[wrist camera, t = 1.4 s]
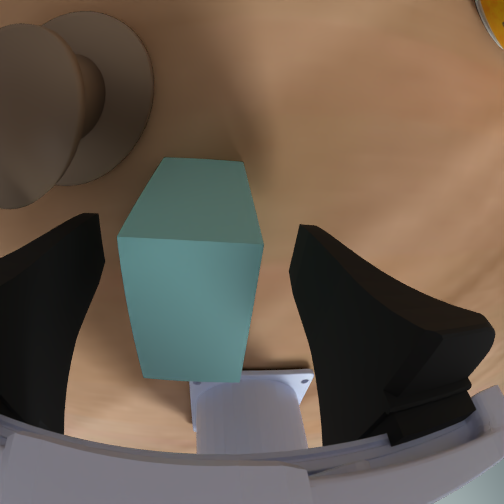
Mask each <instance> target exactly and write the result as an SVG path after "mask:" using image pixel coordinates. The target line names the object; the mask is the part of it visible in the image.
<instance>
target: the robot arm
mask: <svg viewBox="0 0 504 504" xmlns="http://www.w3.org/2000/svg"><path fill="white" fill-rule="evenodd" d="M104 264H105V257H104V251H103V245H102V238H101V231H100V223H99V215H98V214H97V213H83V214H80V215H78V216H76V217H73V218H72V219H70V220H68V221H66V222H64V223H63V224H61V225H59V226H57V227H56V228H54V229H52V230H51V231H49V232H47V233H46V234H44V235H42V236H41V237H39V238H37V239H35V240H34V241H32V242H30V243H28V244H27V245H25V246H23V247H22V248H20V249H18V250H16V251H14V252H12V253H10V254H8V255H6V256H4V257H2V258H0V504H433V503H435V502H437V501H439V500H440V499H442V498H444V497H446V496H448V495H449V494H451V493H453V492H454V491H456V490H458V489H460V488H461V487H463V486H464V485H466V484H468V483H469V482H471V481H472V480H474V479H475V478H477V477H478V476H480V475H481V474H483V473H484V472H485V471H487V470H488V469H490V468H491V467H493V466H494V465H495V464H497V463H498V462H499V461H501V460H502V459H503V458H504V396H503V394H502V392H501V390H500V388H499V387H498V385H494V386H492V387H490V388H487V389H485V390H483V391H480V392H479V393H477V394H475V395H474V396H472V397H470V396H469V394H468V392H467V390H469V389H470V388H471V385H472V384H471V382H470V381H469V379H468V376H469V375H470V374H471V373H472V372H473V371H474V369H475V368H476V367H477V366H478V365H479V364H480V362H481V361H482V360H483V359H484V357H485V356H486V355H487V353H488V352H489V350H490V349H491V347H492V345H493V342H494V338H495V330H494V328H493V327H492V326H491V324H490V323H489V322H488V320H487V319H486V318H485V317H484V316H483V315H482V314H480V313H476V312H473V311H470V310H467V309H463V308H460V307H457V306H454V305H451V304H448V303H446V302H443V301H440V300H438V299H435V298H433V297H431V296H428V295H426V294H424V293H422V292H419V291H417V290H415V289H413V288H411V287H409V286H407V285H405V284H403V283H401V282H400V281H398V280H396V279H394V278H393V277H391V276H389V275H387V274H386V273H384V272H382V271H381V270H379V269H378V268H376V267H375V266H373V265H372V264H370V263H369V262H367V261H366V260H364V259H363V258H361V257H360V256H358V255H357V254H356V253H354V252H353V251H352V250H350V249H349V248H347V247H346V246H345V245H343V244H342V243H341V242H339V241H338V240H337V239H335V238H334V237H333V236H331V235H330V234H328V233H327V232H326V231H324V230H323V229H321V228H319V227H317V226H314V225H302V224H300V225H299V230H298V234H297V239H296V243H295V247H294V252H293V256H292V260H291V264H290V269H289V274H290V281H291V286H292V292H293V296H294V299H295V302H296V305H297V308H298V312H299V315H300V318H301V321H302V324H303V327H304V330H305V333H306V336H307V339H308V343H309V346H310V350H311V354H312V360H313V365H314V371H315V377H316V383H317V390H318V397H319V406H320V415H321V426H322V443H323V446H322V447H316V448H309V449H308V444H307V439H306V435H305V430H304V425H303V421H302V416H301V412H300V407H299V404H300V402H301V400H302V398H303V396H304V395H305V393H306V391H307V389H308V387H309V385H310V383H311V381H312V379H313V377H314V373H313V370H311V369H292V370H258V371H242V372H241V378H240V383H229V382H194V381H189V384H190V398H191V411H192V423H193V430H194V431H195V432H196V439H197V454H188V453H172V452H160V451H150V450H141V449H134V448H127V447H120V446H114V445H108V444H103V443H98V442H93V441H88V440H83V439H79V438H75V437H71V436H67V435H64V411H65V400H66V390H67V383H68V376H69V370H70V365H71V360H72V355H73V351H74V347H75V343H76V339H77V336H78V333H79V330H80V328H81V325H82V323H83V320H84V318H85V315H86V313H87V310H88V308H89V306H90V303H91V301H92V298H93V296H94V294H95V291H96V289H97V287H98V284H99V281H100V278H101V275H102V271H103V267H104Z"/></svg>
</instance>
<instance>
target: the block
mask: <svg viewBox="0 0 504 504" xmlns="http://www.w3.org/2000/svg"><path fill="white" fill-rule="evenodd" d="M117 242H118V250H119V258H120V265H121V272H122V278H123V284H124V290H125V296H126V302H127V307H128V312H129V317H130V322H131V327H132V332H133V337H134V341H135V345H136V350H137V354H138V358H139V362H140V366H141V370H142V374H143V377H144V378H151V379H162V380H176V381H194V382H229V383H240V378H241V372H242V367H243V361H244V356H245V350H246V345H247V339H248V333H249V328H250V322H251V316H252V311H253V305H254V299H255V293H256V288H257V282H258V276H259V270H260V264H261V258H262V253H263V247H264V243H263V239H262V235H261V231H260V227H259V223H258V219H257V215H256V211H255V207H254V203H253V199H252V195H251V191H250V187H249V183H248V179H247V175H246V171H245V167H244V163H243V162H239V161H226V160H212V159H194V158H171V157H164V158H163V160H162V161H161V163H160V164H159V166H158V168H157V169H156V171H155V172H154V174H153V175H152V177H151V179H150V180H149V182H148V183H147V185H146V187H145V188H144V190H143V192H142V193H141V195H140V197H139V198H138V200H137V202H136V204H135V205H134V207H133V209H132V210H131V212H130V214H129V216H128V217H127V219H126V221H125V223H124V225H123V226H122V228H121V230H120V232H119V234H118V236H117Z"/></svg>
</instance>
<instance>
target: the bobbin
mask: <svg viewBox="0 0 504 504" xmlns="http://www.w3.org/2000/svg"><path fill="white" fill-rule="evenodd" d="M153 96H154V76H153V68H152V65H151V61H150V57H149V55H148V53H147V50H146V48H145V46H144V44H143V43H142V41H141V40H140V38H139V37H138V36H137V35H136V33H135V32H134V31H133V30H132V29H131V28H129V27H128V26H127V25H126V24H124V23H123V22H121V21H119V20H117V19H115V18H113V17H111V16H108V15H105V14H103V13H98V12H92V11H80V12H73V13H68V14H65V15H62V16H59V17H57V18H54V19H52V20H50V21H48V22H47V23H45V24H44V25H42V26H40V25H32V24H21V23H20V24H12V25H8V26H5V27H2V28H0V208H2V209H16V208H21V207H24V206H27V205H29V204H31V203H33V202H35V201H36V200H38V199H39V198H41V197H42V196H43V195H44V194H45V193H46V192H48V191H49V190H50V189H51V188H52V187H53V186H54V185H62V186H71V185H79V184H83V183H87V182H90V181H92V180H95V179H97V178H99V177H101V176H103V175H104V174H106V173H107V172H109V171H110V170H111V169H113V168H114V167H115V166H116V165H117V164H118V163H119V162H120V161H122V160H123V159H124V158H125V157H126V156H127V154H128V153H129V152H130V151H131V150H132V149H133V147H134V146H135V144H136V143H137V141H138V140H139V138H140V136H141V134H142V133H143V131H144V129H145V126H146V124H147V121H148V119H149V116H150V112H151V108H152V103H153Z"/></svg>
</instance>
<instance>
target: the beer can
mask: <svg viewBox="0 0 504 504" xmlns="http://www.w3.org/2000/svg"><path fill="white" fill-rule="evenodd" d="M475 3H476V6H477V9H478V12H479V15H480V17H481V19H482V22H483V24H484V26H485V28H486V29H487V31H488V33H489V34H490V36H491V37H492V38H493V40H494V41H495V42H496V43H497V44H498V46H499V47H501V48H502V49H503V50H504V0H475Z"/></svg>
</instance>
